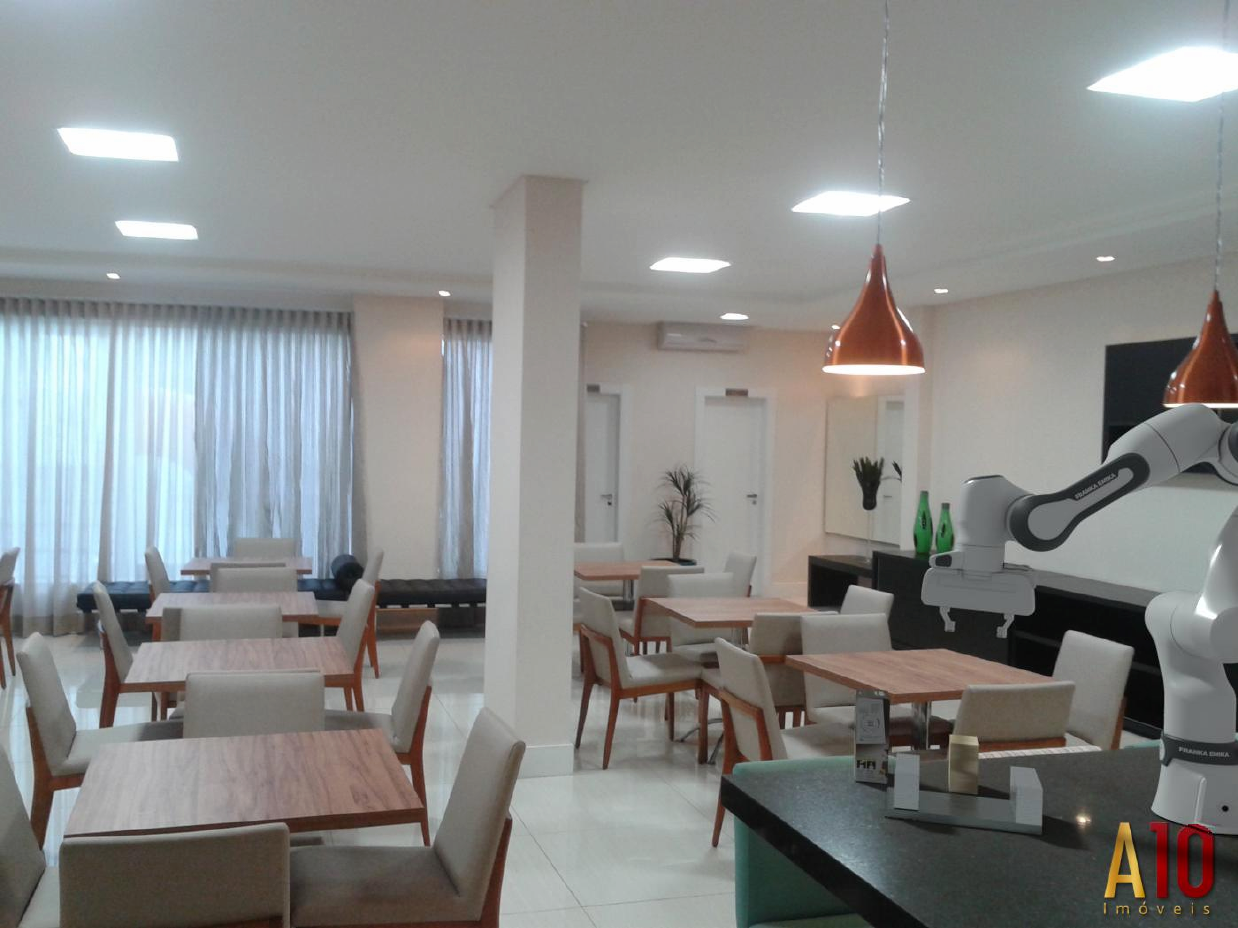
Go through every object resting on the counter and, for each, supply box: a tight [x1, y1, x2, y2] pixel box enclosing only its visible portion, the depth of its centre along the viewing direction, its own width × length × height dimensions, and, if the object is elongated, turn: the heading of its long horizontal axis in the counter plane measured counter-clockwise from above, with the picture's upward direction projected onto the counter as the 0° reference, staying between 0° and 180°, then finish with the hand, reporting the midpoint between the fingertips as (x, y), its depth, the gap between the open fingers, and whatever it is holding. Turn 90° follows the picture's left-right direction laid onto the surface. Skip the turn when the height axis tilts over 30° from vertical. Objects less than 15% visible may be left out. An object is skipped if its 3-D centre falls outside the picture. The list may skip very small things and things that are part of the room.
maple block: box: [947, 733, 980, 795], centre depth 200 cm, size 5×7×9 cm
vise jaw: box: [893, 752, 921, 810], centre depth 186 cm, size 4×13×6 cm, turn 164°
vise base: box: [884, 765, 1044, 836], centre depth 184 cm, size 25×13×8 cm, turn 74°
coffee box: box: [853, 688, 891, 785], centre depth 205 cm, size 9×6×16 cm
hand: (975, 634), depth 199 cm, fingers open, 8 cm apart
